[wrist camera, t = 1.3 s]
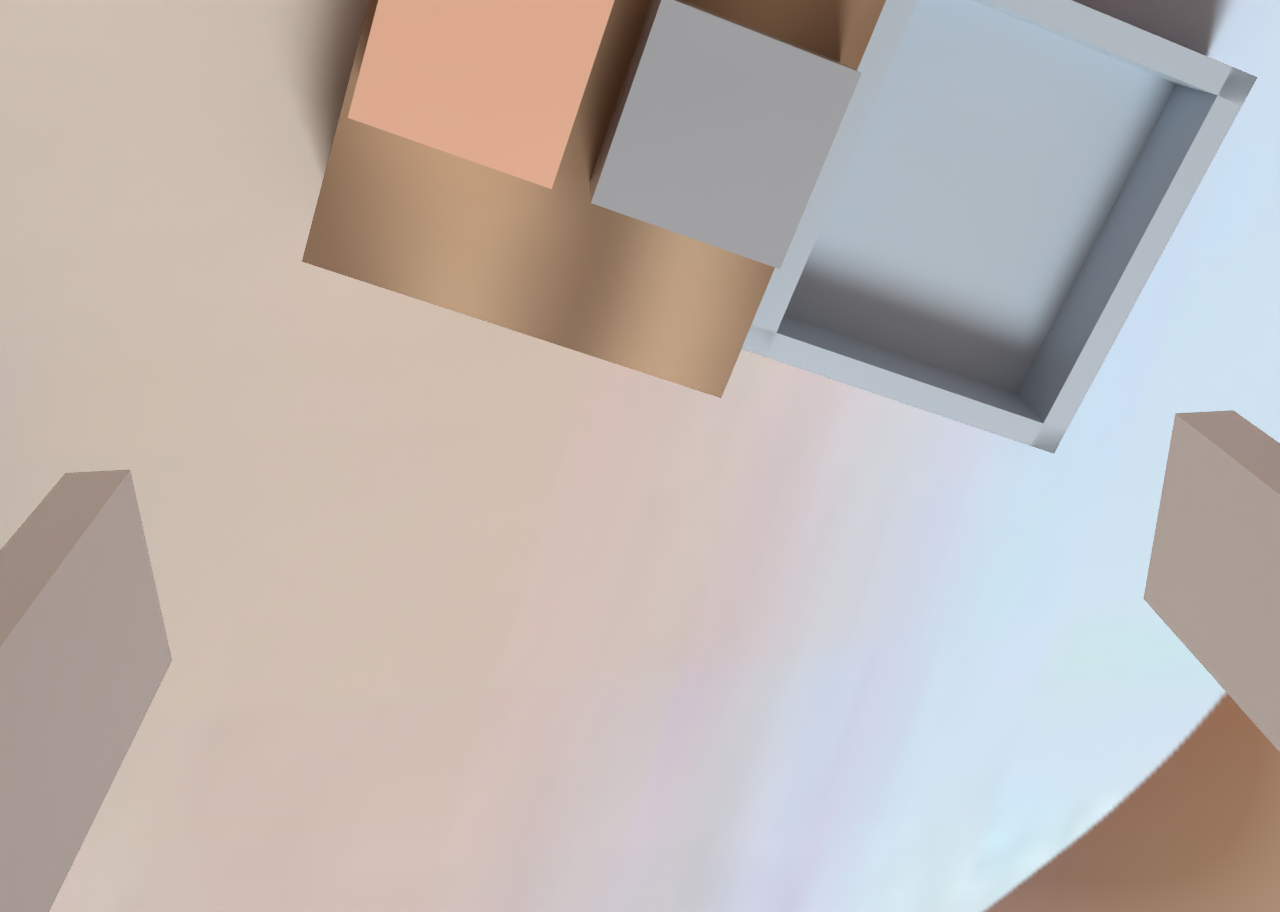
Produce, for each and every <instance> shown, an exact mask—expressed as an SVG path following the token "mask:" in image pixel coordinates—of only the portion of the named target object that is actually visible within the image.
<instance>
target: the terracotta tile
mask: <svg viewBox="0 0 1280 912" xmlns="http://www.w3.org/2000/svg"><path fill="white" fill-rule="evenodd" d="M614 1H615V0H378V4H377V7H376V11H375V15H374V19H373V23H372V27H371V30H370V34H369V38H368V42H367V46H366V49H365V53H364V57H363V61H362V65H361V69H360V72H359V76H358V80H357V84H356V88H355V92H354V95H353V99H352V103H351V107H350V111H349V115H348V118H350V119H353V120H355V121H358V122H361V123H364V124H367V125H370V126H373V127H375V128H378V129H381V130H384V131H387V132H390V133H393V134H395V135H398V136H401V137H404V138H407V139H410V140H413V141H415V142H418V143H421V144H424V145H427V146H430V147H432V148H435V149H438V150H441V151H444V152H447V153H450V154H452V155H455V156H458V157H461V158H464V159H467V160H470V161H472V162H475V163H478V164H481V165H484V166H487V167H490V168H492V169H495V170H498V171H501V172H504V173H507V174H509V175H512V176H515V177H518V178H521V179H524V180H527V181H529V182H532V183H535V184H538V185H541V186H544V187H547V188H549V189H552V187H553V184H554V181H555V178H556V175H557V172H558V169H559V166H560V163H561V160H562V157H563V154H564V151H565V148H566V145H567V142H568V139H569V136H570V133H571V130H572V127H573V124H574V121H575V118H576V115H577V112H578V109H579V106H580V103H581V100H582V97H583V94H584V91H585V88H586V85H587V82H588V79H589V76H590V73H591V70H592V67H593V64H594V61H595V58H596V55H597V52H598V49H599V46H600V43H601V40H602V37H603V34H604V31H605V28H606V25H607V22H608V19H609V16H610V13H611V10H612V7H613V4H614Z"/></svg>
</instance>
